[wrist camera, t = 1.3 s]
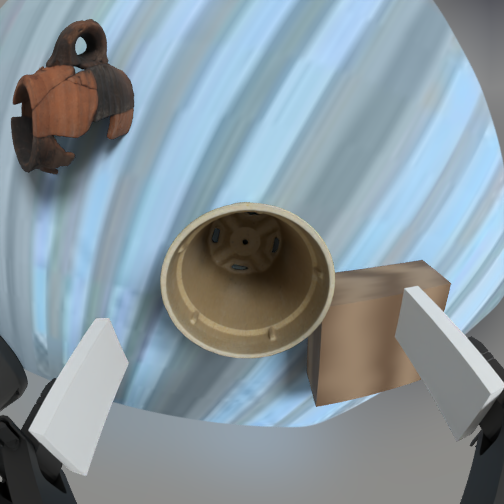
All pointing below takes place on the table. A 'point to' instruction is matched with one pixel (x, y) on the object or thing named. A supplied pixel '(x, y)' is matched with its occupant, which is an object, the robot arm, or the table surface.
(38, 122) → the broken clay jug
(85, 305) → the table surface
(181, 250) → the flower pot
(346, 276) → the walnut stand
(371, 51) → the table surface
